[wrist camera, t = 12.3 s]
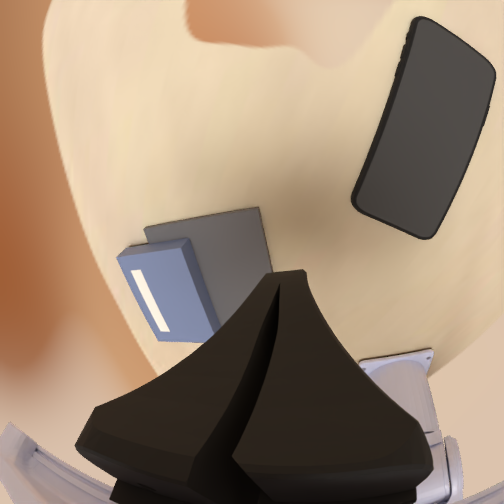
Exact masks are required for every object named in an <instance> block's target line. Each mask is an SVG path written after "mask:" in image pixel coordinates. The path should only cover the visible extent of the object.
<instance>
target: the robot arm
mask: <svg viewBox="0 0 504 504" xmlns="http://www.w3.org/2000/svg"><path fill="white" fill-rule="evenodd" d="M433 355H434V351H433V349H428V350H423V351H418V352H413V353H408V354H402V355H396V356H390V357H384V358H377V359H370V360H363V361H361V362H359V364H357V363H356V362H355V361H354V360H353V358H352V357H351V356H350V355H349V353H348V352H347V351H346V350H345V348H344V347H343V346H342V344H341V343H340V342H339V340H338V339H337V337H336V336H335V334H334V333H333V332H332V330H331V328H330V327H329V325H328V324H327V322H326V320H325V319H324V317H323V315H322V313H321V312H320V310H319V308H318V306H317V304H316V302H315V300H314V298H313V295H312V293H311V291H310V288H309V285H308V281H307V274H306V272H305V271H304V270H303V269H302V270H292V271H283V272H273V273H266V274H265V275H264V276H263V278H262V279H261V280H260V281H259V283H258V284H257V285H256V287H255V288H254V289H253V291H252V292H251V293H250V294H249V296H248V297H247V298H246V299H245V301H244V302H243V303H242V304H241V306H240V307H239V308H238V309H237V310H236V312H235V313H234V314H233V315H232V316H231V317H230V318H229V319H228V320H227V321H226V322H225V324H224V325H223V326H222V327H221V328H220V329H219V330H218V331H217V332H216V333H215V334H214V335H213V336H212V337H210V338H209V339H208V340H207V341H206V342H205V343H204V344H202V345H201V346H200V347H199V348H198V349H197V350H195V351H194V352H193V353H192V354H190V355H189V356H188V357H186V358H185V359H183V360H182V361H181V362H179V363H178V364H176V365H175V366H174V367H172V368H171V369H169V370H168V371H167V372H165V373H163V374H162V375H160V376H159V377H157V378H155V379H154V380H152V381H150V382H148V383H147V384H145V385H143V386H141V387H139V388H138V389H135V390H134V391H132V392H130V393H127V394H125V395H123V396H121V397H118V398H116V399H114V400H111V401H109V402H107V403H104V404H102V405H100V406H97V407H95V408H94V410H93V412H92V414H91V416H90V418H89V419H88V421H87V423H86V425H85V427H84V429H83V431H82V432H81V434H80V436H79V438H78V440H77V442H76V444H75V447H76V450H77V451H78V452H79V453H80V454H81V455H82V456H83V457H84V458H86V459H87V460H89V461H90V462H92V463H93V464H94V465H96V466H97V467H99V468H100V469H102V470H104V471H105V472H107V473H108V474H110V475H112V476H113V477H115V478H117V481H116V483H115V486H114V488H113V487H111V486H109V485H107V484H105V483H102V482H100V481H98V480H96V479H94V478H92V477H90V476H89V475H87V474H84V473H83V472H81V471H79V470H77V469H76V468H74V467H72V466H70V465H69V464H67V463H65V462H64V461H62V460H60V459H59V458H57V457H56V456H54V455H53V454H51V453H49V452H48V451H46V450H45V449H43V448H42V447H41V446H39V445H38V444H37V443H36V442H35V441H34V440H32V439H31V438H30V437H29V436H28V435H26V434H25V433H24V432H23V431H21V430H20V429H19V428H18V427H16V426H15V425H14V424H12V423H11V422H9V423H8V425H7V426H6V428H5V430H4V431H3V433H2V435H1V436H0V481H1V482H2V484H3V485H4V487H5V489H6V490H7V492H8V494H9V496H10V498H11V499H12V501H13V503H14V504H435V503H436V504H504V481H502V482H500V483H498V484H496V485H494V486H492V487H490V488H488V489H486V490H484V491H482V492H479V493H477V494H475V495H472V496H470V497H467V498H465V499H463V491H462V489H463V471H462V463H461V457H460V452H459V447H458V444H457V440H456V439H455V438H451V436H447V437H445V438H444V442H445V450H444V444H443V439H442V434H441V430H439V425H438V421H437V416H436V412H435V407H434V403H433V399H432V395H431V391H430V388H429V384H428V380H427V377H426V375H427V372H428V369H429V367H430V364H431V361H432V358H433ZM445 453H446V455H445ZM449 483H450V487H449Z"/></svg>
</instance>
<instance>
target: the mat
mask: <svg viewBox="0 0 504 504" xmlns="http://www.w3.org/2000/svg"><path fill="white" fill-rule="evenodd" d="M143 230H144V232H145V235H146V238H147V240H148V243H149V244H152V243H158V242H165V241H171V240H177V239H184V238H189V239H190V242H191V245H192V248H193V251H194V254H195V257H196V260H197V263H198V266H199V269H200V271H201V274H202V277H203V280H204V283H205V285H206V288H207V291H208V294H209V296H210V299H211V302H212V304H213V307H214V310H215V312H216V315H217V318H218V320H219V323H220V325H221V327H222V326H223V325H224V324H225V322H226V321H227V320H228V319H229V318H230V317H231V316H232V315H233V314H234V313H235V312H236V310H237V309H238V308H239V307H240V306H241V304H242V303H243V302H244V301H245V299H246V298H247V297H248V296H249V294H250V293H251V292H252V291H253V289H254V288H255V287H256V285H257V284H258V283H259V281H260V280H261V279H262V278H263V276H264V275H265V274H266V273H273V271H272V266H271V262H270V257H269V252H268V248H267V243H266V239H265V234H264V230H263V225H262V221H261V216H260V212H259V207H255V208H249V209H243V210H236V211H230V212H224V213H218V214H213V215H207V216H201V217H196V218H190V219H185V220H179V221H174V222H169V223H163V224H158V225H153V226H148V227H145V228H144V229H143ZM192 343H205V342H192Z"/></svg>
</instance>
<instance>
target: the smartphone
mask: <svg viewBox="0 0 504 504" xmlns="http://www.w3.org/2000/svg"><path fill="white" fill-rule="evenodd" d="M400 58H401V61H400V62H399V64H398V67H397V70H396V73H395V80H394V83H393V86H392V89H391V92H390V95H389V98H388V101H387V104H386V106H385V109H384V112H383V115H382V118H381V121H380V123H379V126H378V129H377V131H376V134H375V137H374V139H373V142H372V145H371V147H370V150H369V152H368V155H367V158H366V160H365V163H364V165H363V168H362V170H361V172H360V175H359V177H358V180H357V182H356V185H355V187H354V189H353V192H352V195H351V203H352V205H353V207H354V208H355V209H356V210H357V211H358V212H360V213H362V214H364V215H366V216H368V217H371V218H373V219H375V220H378V221H380V222H382V223H385V224H387V225H389V226H392V227H394V228H396V229H398V230H401V231H403V232H405V233H407V234H409V235H412V236H414V237H416V238H418V239H422V240H427V239H431V238H432V237H433V236H434V235H435V234H436V233H437V231H438V229H439V227H440V225H441V223H442V221H443V220H444V218H445V216H446V214H447V212H448V210H449V208H450V206H451V204H452V202H453V199H454V197H455V195H456V193H457V191H458V189H459V187H460V184H461V182H462V180H463V178H464V175H465V173H466V170H467V168H468V166H469V163H470V161H471V158H472V156H473V153H474V150H475V148H476V145H477V142H478V139H479V137H480V134H481V131H482V128H483V126H484V124H485V121H486V117H487V114H488V111H489V107H490V106H489V105H490V101H491V97H492V94H493V90H494V85H495V81H496V71H495V69H494V67H493V65H492V64H491V63H490V62H489V61H488V60H487V59H486V58H485V57H484V56H483V55H481V54H480V53H479V52H478V51H476V50H475V49H474V48H473V47H471V46H470V45H469V44H467V43H466V42H465V41H463V40H462V39H460V38H459V37H458V36H456V35H455V34H453V33H452V32H450V31H449V30H447V29H446V28H444V27H443V26H441V25H440V24H438V23H437V22H435V21H433V20H432V19H429V18H427V17H424V16H418V17H415V18H414V19H413V20H412V22H411V26H410V30H409V32H408V33H407V37H406V44H405V45H404V47H403V51H402V54H401V57H400Z"/></svg>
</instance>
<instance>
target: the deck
mask: <svg viewBox="0 0 504 504" xmlns="http://www.w3.org/2000/svg"><path fill="white" fill-rule="evenodd" d="M116 258H117V260H118V263H119V265H120V267H121V269H122V271H123V274H124V276H125V278H126V280H127V282H128V284H129V286H130V288H131V290H132V292H133V294H134V296H135V298H136V300H137V302H138V304H139V306H140V308H141V310H142V312H143V314H144V316H145V318H146V320H147V322H148V323H149V325H150V327H151V329H152V331H153V332H154V334H155V336H156V338H157V340H158V341H166V342H206V341H207V340H208V339H209V338H210V337H212V336H213V335H214V334H215V333H216V332H217V331H218V330H219V329H220V328H221V325H220V323H219V320H218V318H217V315H216V312H215V310H214V307H213V304H212V302H211V299H210V296H209V294H208V291H207V288H206V285H205V283H204V280H203V277H202V274H201V271H200V269H199V266H198V263H197V260H196V257H195V254H194V251H193V248H192V245H191V242H190V239H189V238H184V239H177V240H171V241H165V242H158V243H152V244H146V245H140V246H134V247H128V248H125V249H124V250H123V251H122V252H121V253H120V254H119V255H118V256H117V257H116Z"/></svg>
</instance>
